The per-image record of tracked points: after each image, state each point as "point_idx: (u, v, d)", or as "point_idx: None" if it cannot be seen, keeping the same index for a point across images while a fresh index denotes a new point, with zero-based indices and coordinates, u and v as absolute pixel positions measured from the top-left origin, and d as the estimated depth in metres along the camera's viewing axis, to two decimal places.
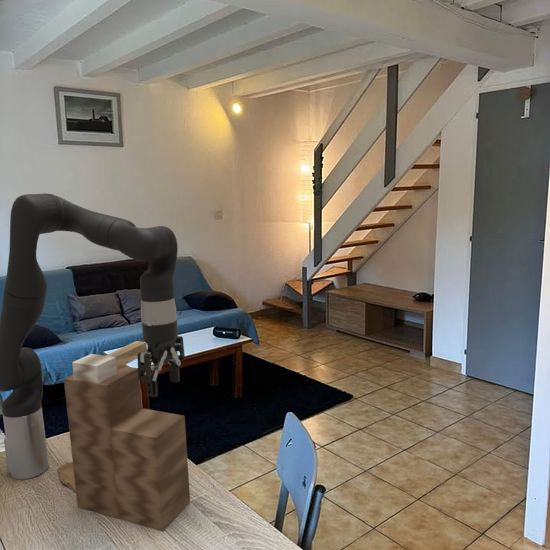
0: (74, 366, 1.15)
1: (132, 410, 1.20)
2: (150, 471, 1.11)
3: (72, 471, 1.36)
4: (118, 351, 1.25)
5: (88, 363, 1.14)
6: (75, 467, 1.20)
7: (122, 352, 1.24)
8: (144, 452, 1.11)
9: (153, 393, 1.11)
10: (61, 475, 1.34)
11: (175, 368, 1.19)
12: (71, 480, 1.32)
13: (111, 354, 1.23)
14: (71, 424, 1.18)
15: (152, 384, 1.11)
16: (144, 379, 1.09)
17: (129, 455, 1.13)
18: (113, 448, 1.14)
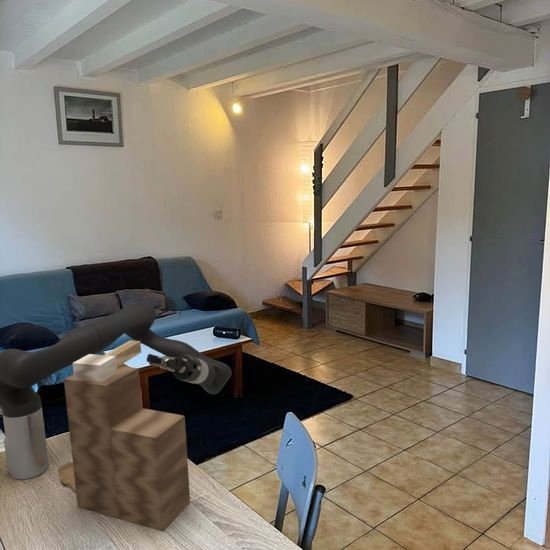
0: (74, 367, 1.15)
1: (132, 410, 1.20)
2: (150, 471, 1.11)
3: (72, 471, 1.36)
4: (115, 350, 1.25)
5: (89, 363, 1.14)
6: (75, 467, 1.20)
7: (119, 351, 1.25)
8: (144, 452, 1.11)
9: (178, 364, 1.39)
10: (61, 475, 1.34)
11: (155, 362, 1.45)
12: (71, 480, 1.32)
13: (108, 354, 1.23)
14: (71, 424, 1.18)
15: (182, 365, 1.41)
16: (192, 366, 1.42)
17: (129, 455, 1.13)
18: (113, 448, 1.14)
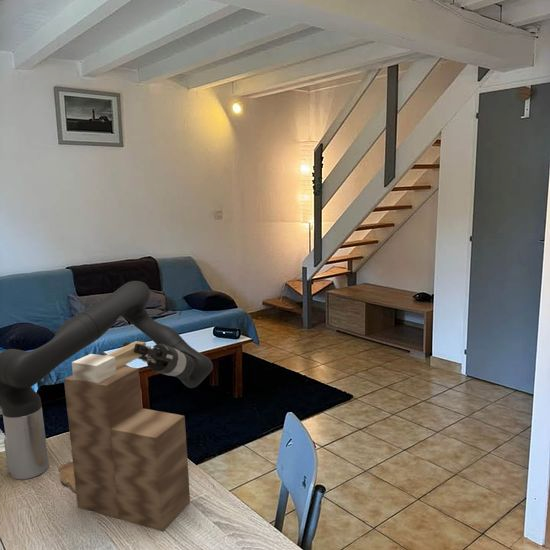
0: (73, 366, 1.15)
1: (132, 410, 1.20)
2: (150, 471, 1.11)
3: (73, 471, 1.36)
4: (117, 351, 1.25)
5: (87, 363, 1.14)
6: (75, 467, 1.20)
7: (121, 352, 1.24)
8: (144, 452, 1.11)
9: (139, 351, 1.28)
10: (62, 474, 1.34)
11: None
12: (71, 480, 1.32)
13: (110, 354, 1.23)
14: (71, 424, 1.18)
15: (144, 353, 1.29)
16: (155, 354, 1.30)
17: (129, 455, 1.13)
18: (113, 448, 1.14)
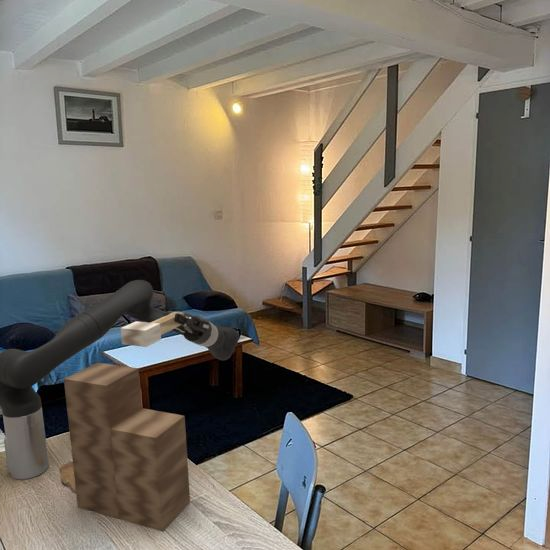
0: (122, 331, 1.23)
1: (132, 410, 1.20)
2: (150, 471, 1.11)
3: (73, 471, 1.36)
4: (160, 319, 1.33)
5: (136, 328, 1.22)
6: (75, 467, 1.20)
7: (164, 320, 1.32)
8: (144, 452, 1.11)
9: (179, 320, 1.36)
10: (62, 474, 1.34)
11: None
12: (71, 480, 1.32)
13: (154, 322, 1.31)
14: (71, 424, 1.18)
15: (183, 322, 1.38)
16: (193, 323, 1.39)
17: (129, 455, 1.13)
18: (113, 448, 1.14)
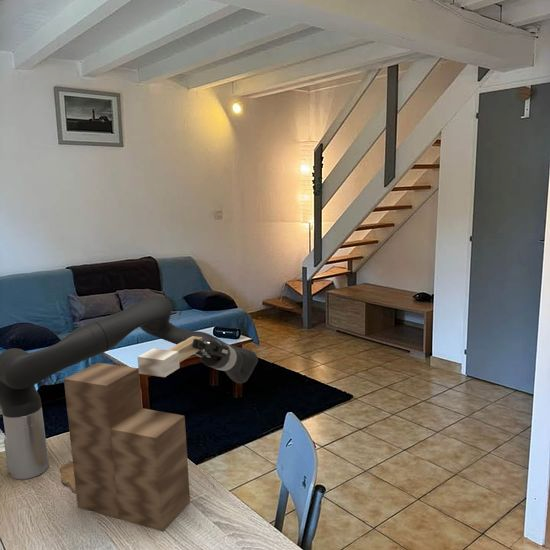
0: (139, 360, 1.17)
1: (132, 410, 1.20)
2: (150, 471, 1.11)
3: (73, 470, 1.36)
4: (178, 346, 1.27)
5: (153, 357, 1.16)
6: (75, 467, 1.20)
7: (182, 347, 1.26)
8: (144, 452, 1.11)
9: (197, 346, 1.30)
10: (62, 474, 1.34)
11: None
12: (71, 480, 1.32)
13: (172, 349, 1.25)
14: (71, 424, 1.18)
15: (201, 348, 1.32)
16: (212, 349, 1.33)
17: (129, 455, 1.13)
18: (113, 448, 1.14)
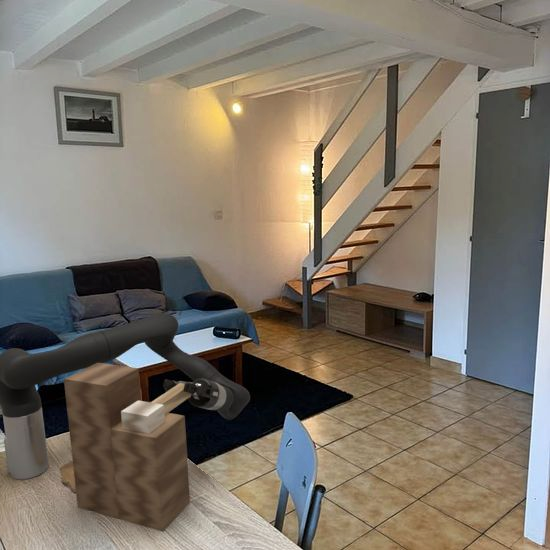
0: (123, 415, 1.13)
1: None
2: (150, 471, 1.11)
3: None
4: (164, 396, 1.23)
5: (137, 412, 1.12)
6: (75, 467, 1.20)
7: (168, 397, 1.22)
8: (144, 452, 1.11)
9: (189, 390, 1.25)
10: (62, 474, 1.35)
11: None
12: (71, 479, 1.32)
13: (157, 400, 1.20)
14: (71, 424, 1.18)
15: (193, 391, 1.27)
16: (204, 392, 1.28)
17: (129, 455, 1.13)
18: (113, 448, 1.14)
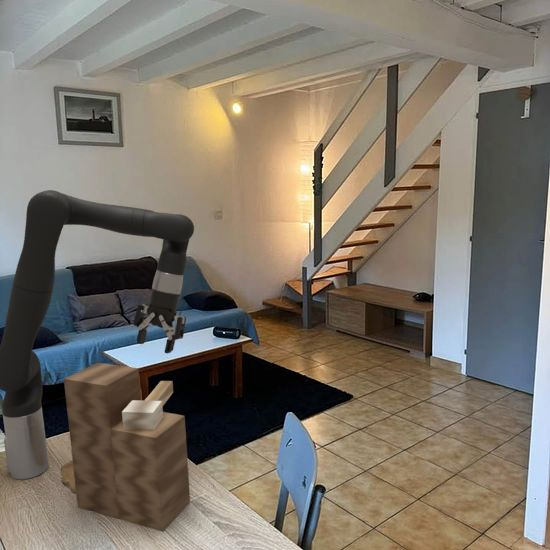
0: (124, 415, 1.13)
1: None
2: (150, 471, 1.11)
3: None
4: (153, 394, 1.24)
5: (140, 410, 1.13)
6: (75, 467, 1.20)
7: (159, 394, 1.23)
8: (144, 452, 1.11)
9: None
10: (63, 473, 1.35)
11: (145, 331, 1.40)
12: (71, 479, 1.32)
13: (149, 398, 1.22)
14: (71, 424, 1.18)
15: None
16: (180, 337, 1.35)
17: (129, 455, 1.13)
18: (113, 448, 1.14)
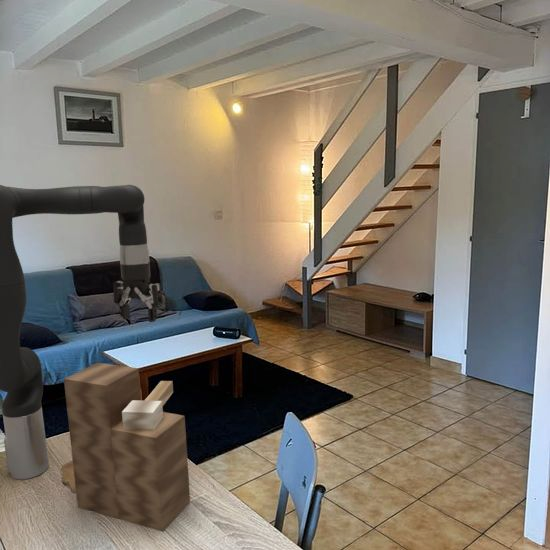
0: (124, 415, 1.13)
1: None
2: (150, 471, 1.11)
3: None
4: (153, 394, 1.24)
5: (140, 410, 1.13)
6: (75, 467, 1.20)
7: (159, 394, 1.23)
8: (144, 452, 1.11)
9: None
10: (63, 473, 1.35)
11: (128, 306, 1.42)
12: (71, 479, 1.32)
13: (149, 398, 1.22)
14: (71, 424, 1.18)
15: None
16: (160, 304, 1.37)
17: (129, 455, 1.13)
18: (113, 448, 1.14)
